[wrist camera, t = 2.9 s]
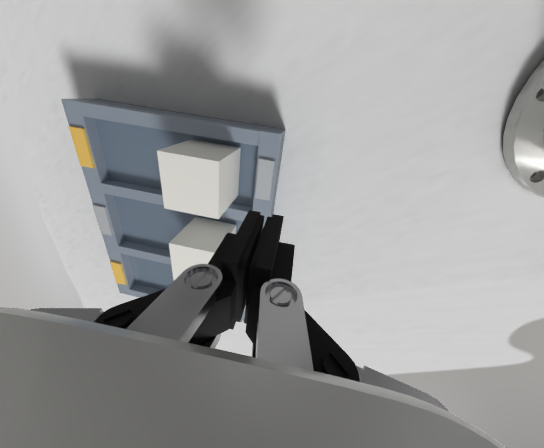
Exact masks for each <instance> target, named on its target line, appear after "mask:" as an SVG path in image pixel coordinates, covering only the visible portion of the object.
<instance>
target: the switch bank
mask: <svg viewBox="0 0 544 448" xmlns="http://www.w3.org/2000/svg"><path fill="white" fill-rule="evenodd" d="M61 100H62V103H63V106H64V110H65V113H66V116H67V120H68V123H69V129H70V132H71V136H72V139H73V142H74V145H75V149H76V152H77V155H78V158H79V162H80V165H81V166H82V169H83V172H84V176H85V179H86V182H87V186H88V189H89V192H90V195H91V199H92V202H93V208H94V211H95V214H96V217H97V221H98V224H99V227H100V231H101V233H102V235H103V238H104V242H105V245H106V248H107V251H108V255H109V258H110V261H111V262H110V263H111V267H112V270H113V273H114V276H115V280H116V283H117V284H118V288H119V291H120V293H123V294H128V295H132V296H136V297H143V296H146V295H149V294H152V293H155V292H157V291H160V290H163V289H166V288H167V287H168V286H169V285H170V284H171V283H172V282H173V273H172V265H171V257H170V249H169V242H170V241H171V240H172V239H173V238H174V237H175V236H176V235H177V234H178V233H179V232H180V231H181V230H183V229H184V228H185V227H186V226H187V225H188V224H189V223H190V222H191V221H192V220H193V219H194V218H195V217H200V218H205V219H210V220H215V221H220V222H225V223H230V224H235V225H236V233H237V232H238V230H239V228H240V226H241V224H242V222H243V221H244V219H245V217H246V215H247V213H248V211H249V210H252V211H257V212H261V215H263V216H264V224H263V228H264V225H265V222H266V219H267V217H272V214H273V211H274V204H275V197H276V190H277V183H278V176H279V170H280V163H281V156H282V149H283V142H284V135H285V129H279V128H273V127H266V126H260V125H254V124H248V123H242V122H235V121H229V120H223V119H217V118H211V117H204V116H198V115H192V114H186V113H179V112H173V111H167V110H161V109H155V108H148V107H142V106H136V105H130V104H124V103H117V102H111V101H105V100H99V99H61ZM191 139H194V140H200V141H206V142H211V143H217V144H223V145H229V146H235V147H241V152H240V170H239V188H238V196H237V197H236V198H235V200H234V201H233V202H232V203H231V205H230V206H229V207H228V208H227V210H226V211H225V212H224V213H223V214H222V216H221V217H220V218H219V219H214V218H209V217H204V216H199V215H194V214H190V213H185V212H180V211H175V210H170V209H165V208H164V203H163V195H162V187H161V179H160V172H159V164H158V156H157V150H160V149H163V148H166V147H169V146H172V145H175V144H178V143H181V142H184V141H188V140H191ZM245 308H246V306H245ZM244 317H245V309H244V312H243V315H242V319H241V321H240V322H242V320H243V321H244Z"/></svg>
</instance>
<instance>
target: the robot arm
mask: <svg viewBox="0 0 544 448" xmlns="http://www.w3.org/2000/svg"><path fill="white" fill-rule="evenodd" d="M503 155H504V159H505V163H506V167H507V168H508V170H509V172H510V174H511V175H512V177H513V179H515V180H516V181H517V182H518V183H519V184H520V185H521V186H522V187H523V188H525V189H527V190H529V191H531V192H533V193H534V194H536V195H539V196H541V197H544V60H543V61H542V63H541V64H540V65H539V66H538V67H537V69H536V70H535V71H534V72H533V73H532V75H531V76H530V77H529V79H528V81H527V82H526V84H525V85H524V87H523V88H522V90H521V92H520V93H519V95H518V96H517V98H516V100H515V103H514V105H513V107H512V109H511V112H510V114H509V116H508V119H507V123H506V127H505V131H504V135H503ZM282 222H283V216H279V215H274V214H272V217H267V219H266V222H265V225H264V228H263V224H264V216H263V215H261V212H257V211H252V210H249V211H248V213H247V215H246V217H245V219H244V221H243V222H242V224H241V226H240V228H239V230H238V232H237V233H236V234H233V233H227V234H226V235H225V237H224V239H223V240H222V242H221V243H220V245H219V247H218V248H217V250H216V252H215V253H214V255H213V256H212V258H211V260H210V261H209V263H208V264H198V265H193V266H191V267H189V268H187V269H186V270H185V271H183V272H182V273H181V274H180V275H179V276H178V277H177V278H176V279H175V280H174V281H173V282H172V283H171V284H170V285H169V286H168V287H167V288H166V289H163V290H160V291H157V292H155V293H152V294H149V295H146V296H143V297H140V298H137V299H135V300H132V301H129V302H126V303H123V304H120V305H117V306H115V307H113V308H110V309H108V310H107V311H105V312H103V311H102V309H101V308H83V309H82V308H81V309H80V308H39V309H31V310H24V309H17V308H2V307H0V448H507V447H505V446H504V445H503V444H501V443H500V442H498V441H497V440H496V439H494V438H493V437H491V436H490V435H488V434H487V433H485V432H484V431H482V430H480V429H479V428H477V427H475V426H474V425H472V424H470V423H469V422H467V421H465V420H463V419H462V418H460V417H458V416H456V415H454V414H452V413H450V412H449V411H448V410H447V409H446V408H445V407H444V406H443V405H442V404H441V403H440V402H439V401H438V400H437V399H435V398H434V397H432V396H430V395H429V394H427V393H425V392H422V391H420V390H418V389H416V388H413V387H411V386H409V385H407V384H404V383H402V382H400V381H398V380H395V379H393V378H391V377H389V376H387V375H384V374H382V373H380V372H378V371H375V370H373V369H371V368H369V367H366V366H364V367H363V369H362V368H360V367H358V366H356V365H355V363H354V362H353V361H352V359H351V358H350V357H349V356H348V355H347V354H346V353H345V352H344V350H343V349H342V348H341V347H340V346H339V345H338V344H337V343H336V342H335V341H334V340H333V339H332V338H331V337H330V336H329V335H328V334H327V333H326V332H325V331H324V330H323V329H322V328H321V327H320V326H319V325H318V324H317V322H316V321H315V320H314V319H313V318H312V317H311V316H310V315H309V314H308V313H307V312H306V311H305V310H304V305H303V299H302V294H301V291H300V289H299V288H298V287H297V286H296V285H295V284H294V283H292V282H291V277H292V267H293V257H294V246H295V245H292V244H286V243H281V242H279V240H280V234H281V228H282ZM245 306H246V308H245ZM244 309H245V317H244V323H247V325H246V334H247V335H248V337H249V338H250V340H251V341H252V343H253V346H252V357H250V356H245V355H241V354H236V353H232V352H227V351H223V350H218V349H215V347H216V345H217V343H218V341H219V339H220V336H221V333H222V332H224V331H226V330H228V329H233V328H234V325H235V322H236V321H237V322H240V321H241V319H242V315H243V312H244Z"/></svg>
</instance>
